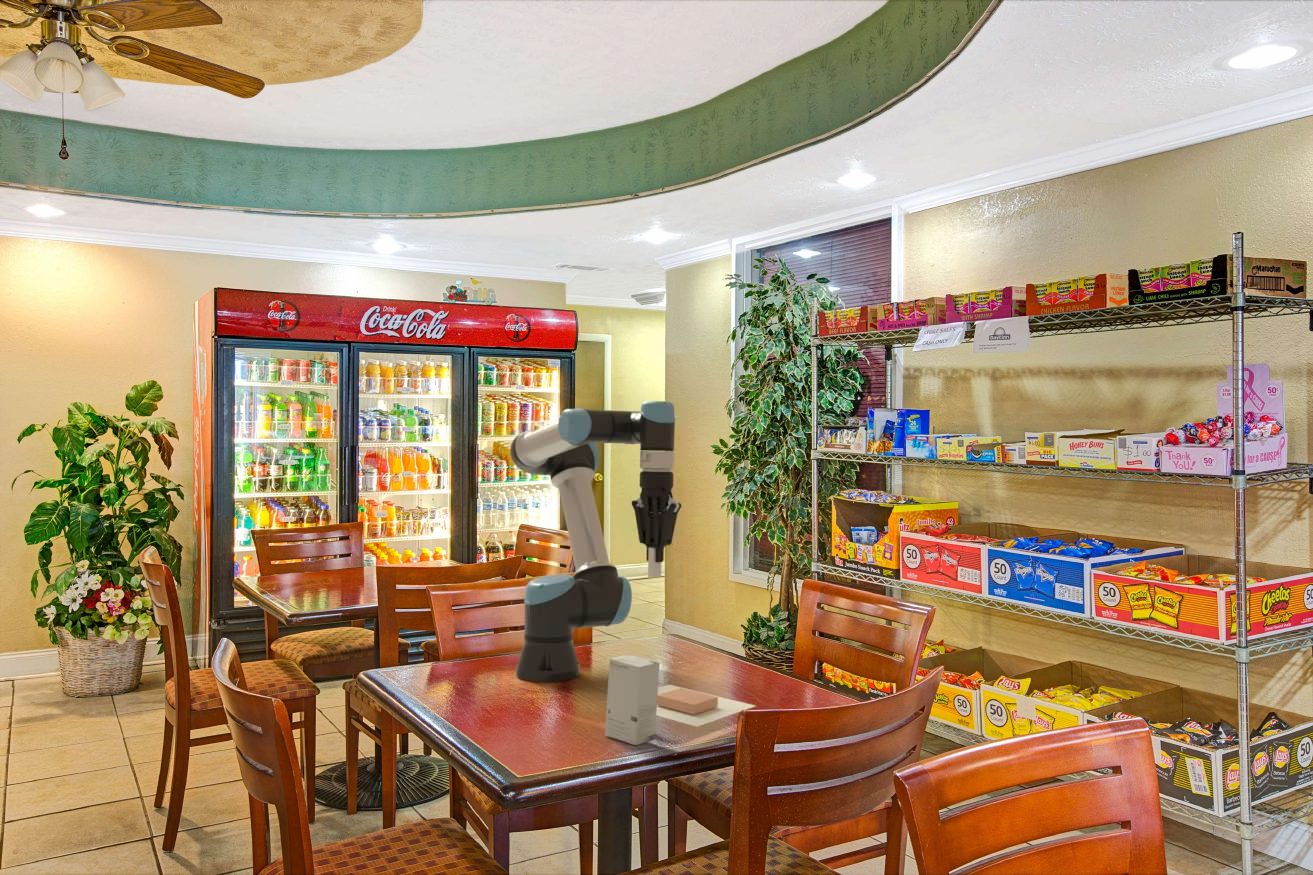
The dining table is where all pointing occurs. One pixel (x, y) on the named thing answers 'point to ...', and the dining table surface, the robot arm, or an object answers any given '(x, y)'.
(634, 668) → the skincare box
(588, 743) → the dining table surface
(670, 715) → the mat
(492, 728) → the dining table surface
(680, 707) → the tile
